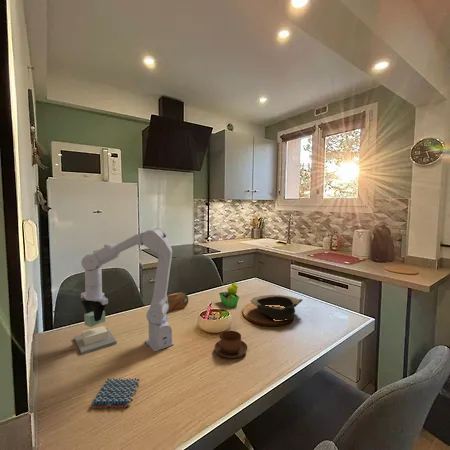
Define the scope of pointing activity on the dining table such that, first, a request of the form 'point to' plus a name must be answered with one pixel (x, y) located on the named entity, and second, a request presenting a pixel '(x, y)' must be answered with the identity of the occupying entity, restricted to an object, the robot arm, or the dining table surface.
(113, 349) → the dining table surface
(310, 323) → the dining table surface
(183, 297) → the tin
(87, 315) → the brick
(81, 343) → the baseplate
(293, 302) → the stone bowl
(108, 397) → the woven mat
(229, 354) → the cup and saucer
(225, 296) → the fruit basket
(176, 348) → the dining table surface
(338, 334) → the dining table surface
